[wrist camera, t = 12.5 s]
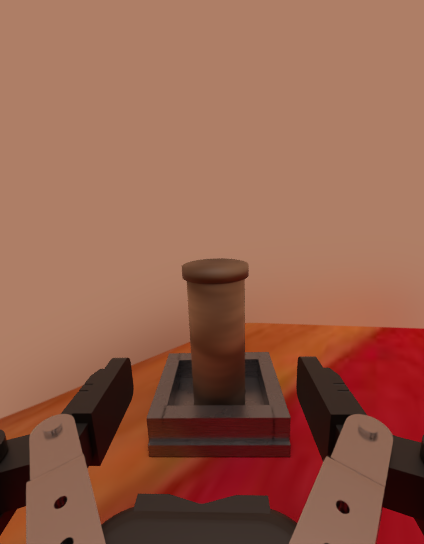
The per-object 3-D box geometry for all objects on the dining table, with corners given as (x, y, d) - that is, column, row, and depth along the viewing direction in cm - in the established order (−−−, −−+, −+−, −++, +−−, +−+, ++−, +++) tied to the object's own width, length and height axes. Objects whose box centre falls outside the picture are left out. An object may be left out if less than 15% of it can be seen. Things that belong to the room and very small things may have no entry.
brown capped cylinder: (245, 381, 25) (245, 257, 22) (251, 423, 20) (252, 271, 17) (193, 382, 25) (186, 259, 22) (187, 423, 20) (176, 273, 17)
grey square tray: (267, 376, 27) (268, 350, 26) (290, 456, 18) (291, 421, 18) (172, 377, 27) (169, 352, 27) (149, 456, 19) (145, 421, 18)
